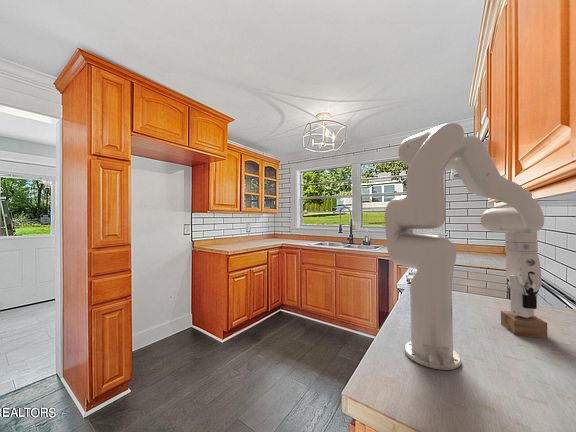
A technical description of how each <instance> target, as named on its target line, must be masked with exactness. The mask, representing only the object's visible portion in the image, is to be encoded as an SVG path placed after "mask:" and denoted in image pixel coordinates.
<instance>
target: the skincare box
mask: <svg viewBox="0 0 576 432" xmlns="http://www.w3.org/2000/svg"><path fill="white" fill-rule="evenodd" d="M525 283H526V284H530V283H527V281H526V282H525ZM509 288H510V300H509V301H510V312H511V314H514V315H518V316H522V317H526V318H528V317H531V316H532V315H534V314H535V309H529V308H524V307H523V302H522V294H524V292H523V288H522V285H520V284H518V283H517V280H516V276H514V275H510V287H509ZM529 288H531V287H527V290H528V289H529ZM534 316H535V315H534Z"/></svg>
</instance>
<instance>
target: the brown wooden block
mask: <svg viewBox="0 0 576 432" xmlns="http://www.w3.org/2000/svg"><path fill="white" fill-rule="evenodd" d="M500 324H501V326H503V327H504V328H505V329H507V330H508V331H509V332H510V333H512V334H513V335H514V336H522V337H532V338H539V339H540V338H542V339H548V322H546V321H545V320H543V319H541V318H539V317H538V316H536V315H532V316H531V317H528V318H526V317H522V316H518V315H514V314H511V310H510V311H507V310H500Z"/></svg>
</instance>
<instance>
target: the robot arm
mask: <svg viewBox="0 0 576 432" xmlns="http://www.w3.org/2000/svg"><path fill="white" fill-rule="evenodd" d="M464 130H465V129H464V127H462V125H461V124H458V123H457V122H456V123H455V122H449V123H444V124H440V125H438V126H435V127H432V128H430V129H429V128H428V129H427V130H425V131H423V132H420V133H417V134H415V135H412V136H409V137H407V138H405V139H404V140H403V141H402V142H401V143H400V144H399V147H398V150H397V151H398V153H397V154H398V157H399V160H400V161H401V162H402V164H404V165H406V166H407V167H408V169H407V172H406V176H405V177H406V180H405V181H406V194H405V195H399V196H396V197H393V198H392V199H390V200H389V202H387V205H386V207H385V210H384V228H385V238H386V240H385V241H386V250H387V254H388V256H389V258H390V260H391V261H392V262H394V264H397V265H399V266H403V267H406V268H407V267H408V268H412V269H415V270H416V271H415V272H416V273H415V274H414V276H413V278H412V279H411V281H410V284H409V285H410V286H409V296H410V298H409V300H410V303H409V305H410V341H408V342H407V343H406V344H405V345H404V352H405V355H406V356H407V357H408V358H409V359H410V360H412V361H414V362H415V363H417V364H419V365H421V366H424V367H427V368H430V369H435V370H441V371H450V370H455V369H457V368H459V367H460V366H461V364H462V362H461V361H462V360H461V359H462V358H461V356H460V354H459V353H457V352H456V351H455V350H454V332H453V329H454V326H453V323H454V322H453V274H454V270H455V265H456V261H457V260H456V259H457V249H456V248H455V247H456V246H455V245H454V243H453V242H452V241H451V240H450V239H448V238H447V237H444V236H441V235H438V234H427V233H425V234H424V233H414V230H436V229H439V228H441V227H442V226H443V225H444V224H445V221H446V217H447V215H446V214H447V213H446V211H447V210H446V198H445V186H444V185H445V184H444V183H445V182H444V174H445V172H447V171H450V170H455V171H456V173H457V175H458V177H459V178H460V180H461V182H462V183H463V185H464V186H465V188H466V190H467V191H468V192H469V193H470V194H473V195H476V196H478V197H483V198H487V199H491V200H496V201H498V202H502V203H503V204H506V205H509V206H507V207H494V208H493V207H492V208H489V209H487V210H485V211H483V213H482V214H481V216H480V224H481V226H482V227H483V228H484V229H485V230H487V231H490V232H496V233H504V251H505V252H506V258H505V277H506V281H507V287H508V289H507V290H508V291H507V292H508V296H507V297H508V300H509V301H511V300H510V275H514V276H516V280H517V283H518V284H520V285H522V288H523V292H524V294H522V302H523V307H524V308H529V309H534V310H536V309H537V308H538V306H537V305H538V301H537V297H538V293H539V291H540V289H541V287H542V282H543V280H542V270H541V262H540V258H539V257H540V256H539V254H538V246H539V245H538V232H539V231H540V230H541V229H542V228H543V227H544V224H545V216H544V212H543V210H542V207H541V206H540V204H539V202H538V200H537V199H536V200H535V199H533V198H532V194H533V193H532V192H531V191H530V190H528V191H526V190H524V189H523V188H524V187H523V186H522V185H520V184H518V183H516V182H515V181H513V180H510V179H508V178H505V177H504V176H502V175H501V174H500V172H499V170H498V167H496V165H495V163H494V161H493V159H492V157H491V155H490V153H489V152H488V150H487V147H486V146H485V145H484V143H483V141H482V140H481V139H480V138H479V137H477V136H472V135H470V136H469V135H468V136H465V131H464ZM522 187H523V188H522ZM526 281H527V283H530V284H526V283H525V282H526ZM527 287H531V288H529V289H528V290H527Z"/></svg>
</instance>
